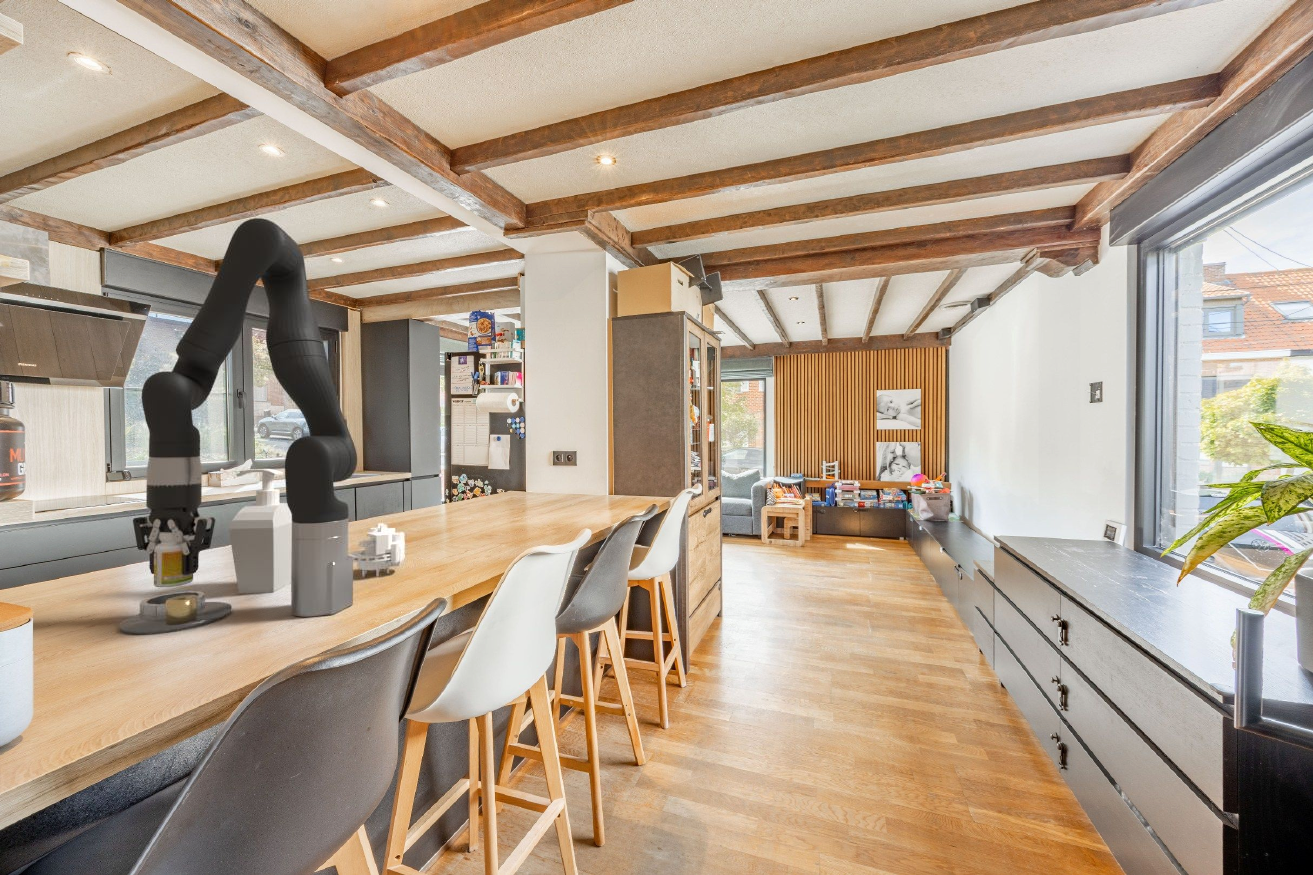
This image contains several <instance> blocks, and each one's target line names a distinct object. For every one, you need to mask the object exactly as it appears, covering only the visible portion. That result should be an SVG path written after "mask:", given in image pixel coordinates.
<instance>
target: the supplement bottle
mask: <svg viewBox="0 0 1313 875" xmlns="http://www.w3.org/2000/svg"><path fill="white" fill-rule="evenodd" d="M188 536H190V535H189V534H188V535H185V536H184V537H188ZM159 539H160V540H161V543H160V544H159V543H158V545H156V546H155V548H154V574H153V586H154V587H155V588H173V587H174V588H175V587H181V586H185V585H187V584H191V583H192V582H193V581H194V573H193V574H190V575H183V574H182V555H185V554H183V551H182V549H181V546H180V544H178V543H176V540H175V538H174V535H173V533H172V532H160V535H159ZM188 543H189V545H190V547H191V544H190V542H188Z"/></svg>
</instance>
